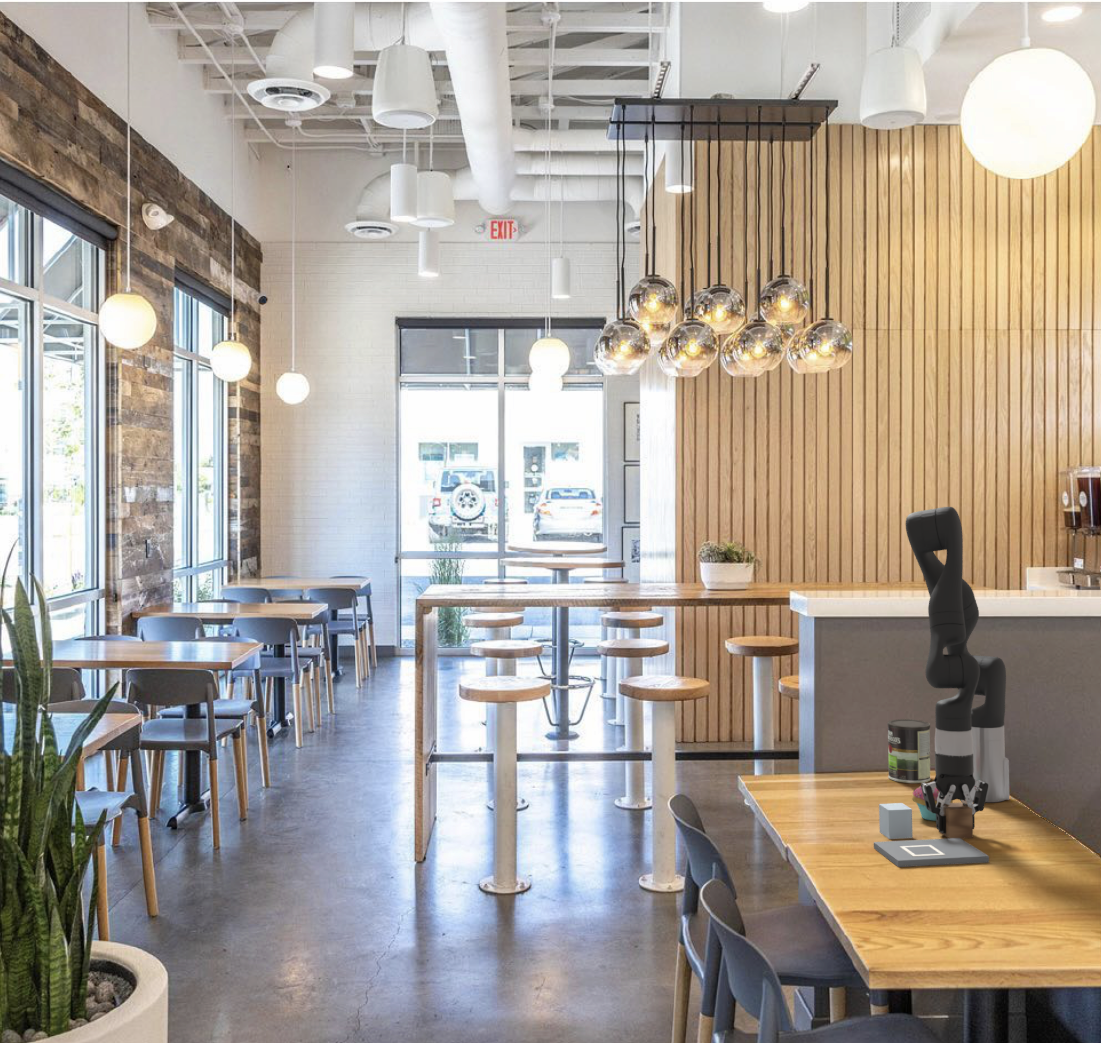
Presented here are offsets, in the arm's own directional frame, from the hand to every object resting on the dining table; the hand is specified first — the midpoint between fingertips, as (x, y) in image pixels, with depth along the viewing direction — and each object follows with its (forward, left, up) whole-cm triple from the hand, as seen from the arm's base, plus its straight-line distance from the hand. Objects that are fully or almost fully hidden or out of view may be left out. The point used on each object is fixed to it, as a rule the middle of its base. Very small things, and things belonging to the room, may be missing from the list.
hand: (955, 831), depth 227 cm
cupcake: (-1, -13, -1) cm, 13 cm away
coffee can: (-11, -48, -1) cm, 49 cm away
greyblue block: (+12, -2, -1) cm, 12 cm away
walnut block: (0, 0, -1) cm, 1 cm away
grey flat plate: (+11, +12, -1) cm, 16 cm away
